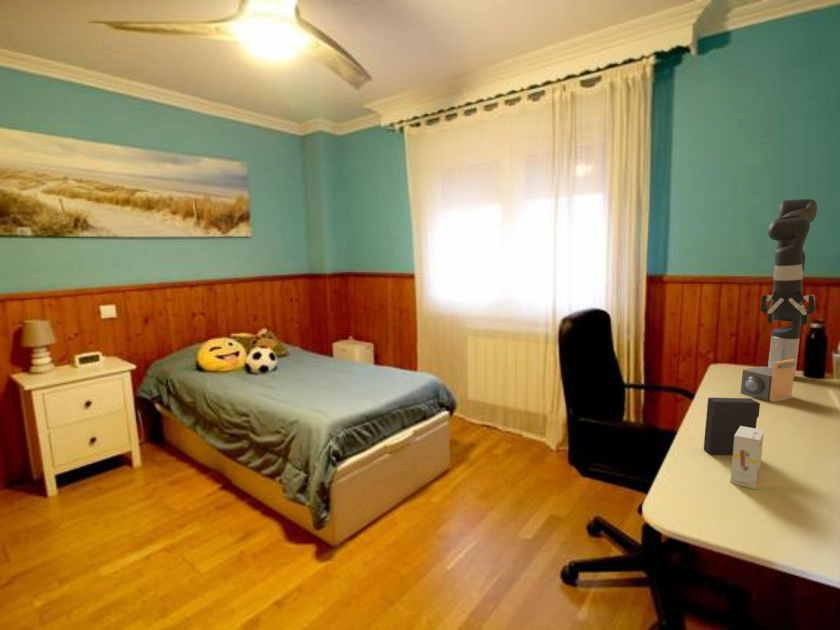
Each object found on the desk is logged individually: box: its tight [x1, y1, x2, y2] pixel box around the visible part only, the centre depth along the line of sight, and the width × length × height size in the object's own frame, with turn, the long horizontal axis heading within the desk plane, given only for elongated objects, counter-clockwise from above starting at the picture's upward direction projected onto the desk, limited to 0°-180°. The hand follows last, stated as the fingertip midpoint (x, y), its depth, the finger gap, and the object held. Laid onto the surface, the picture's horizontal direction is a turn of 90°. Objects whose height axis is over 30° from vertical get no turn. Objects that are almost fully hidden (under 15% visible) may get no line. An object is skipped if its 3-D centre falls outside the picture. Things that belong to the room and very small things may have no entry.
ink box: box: [729, 426, 765, 490], centre depth 102 cm, size 9×5×12 cm, turn 136°
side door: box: [769, 359, 796, 403], centre depth 154 cm, size 11×2×15 cm, turn 112°
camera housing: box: [740, 365, 773, 402], centre depth 159 cm, size 14×9×10 cm, turn 112°
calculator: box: [703, 397, 761, 456], centre depth 115 cm, size 11×4×15 cm, turn 84°
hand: (787, 324), depth 150 cm, fingers open, 8 cm apart
